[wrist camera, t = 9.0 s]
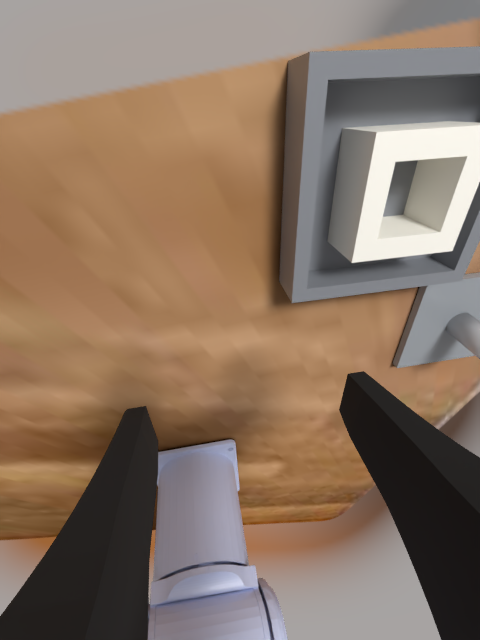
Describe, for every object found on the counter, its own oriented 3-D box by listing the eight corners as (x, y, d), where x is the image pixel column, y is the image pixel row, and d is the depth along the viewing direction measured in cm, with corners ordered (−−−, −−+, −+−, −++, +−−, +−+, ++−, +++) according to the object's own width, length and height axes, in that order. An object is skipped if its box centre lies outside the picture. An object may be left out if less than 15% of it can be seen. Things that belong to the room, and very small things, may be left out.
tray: (431, 263, 20) (461, 281, 18) (279, 281, 19) (291, 303, 17) (508, 53, 14) (566, 43, 12) (288, 61, 13) (309, 51, 11)
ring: (448, 121, 15) (502, 123, 12) (415, 231, 18) (452, 251, 15) (342, 128, 14) (376, 132, 12) (327, 241, 17) (351, 262, 15)
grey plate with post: (476, 349, 26) (531, 394, 22) (392, 363, 25) (433, 412, 21) (523, 266, 22) (604, 304, 18) (422, 279, 21) (482, 321, 17)
